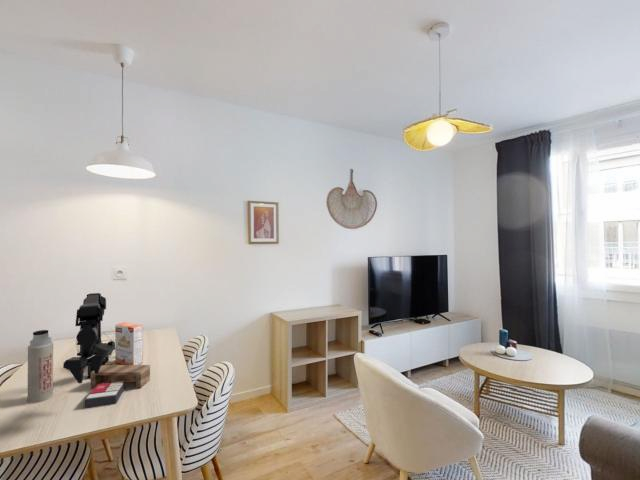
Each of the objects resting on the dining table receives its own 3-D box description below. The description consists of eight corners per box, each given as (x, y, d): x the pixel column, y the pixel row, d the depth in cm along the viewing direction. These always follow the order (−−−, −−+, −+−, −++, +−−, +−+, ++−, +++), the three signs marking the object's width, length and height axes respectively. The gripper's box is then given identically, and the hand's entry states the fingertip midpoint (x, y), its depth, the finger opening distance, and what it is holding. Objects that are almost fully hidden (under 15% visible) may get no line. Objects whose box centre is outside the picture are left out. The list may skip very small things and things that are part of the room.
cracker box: (114, 363, 168) (114, 324, 168) (125, 359, 173) (125, 321, 173) (132, 367, 162) (133, 327, 162) (143, 363, 168) (143, 324, 168)
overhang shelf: (90, 388, 140) (90, 372, 140) (102, 380, 148) (102, 365, 148) (140, 388, 141) (140, 372, 141) (149, 380, 149) (150, 365, 149)
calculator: (125, 379, 142) (116, 393, 128) (125, 389, 142) (116, 404, 127) (97, 383, 138) (84, 397, 124) (97, 393, 138) (83, 409, 124)
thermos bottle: (56, 396, 133) (56, 330, 132) (31, 404, 126) (31, 335, 126) (48, 391, 137) (49, 327, 137) (24, 399, 130) (24, 332, 130)
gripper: (94, 344, 113) (93, 388, 113) (124, 331, 132) (123, 368, 132) (62, 345, 113) (61, 389, 113) (96, 331, 132) (96, 369, 131)
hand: (88, 378), depth 122 cm, fingers open, 9 cm apart
